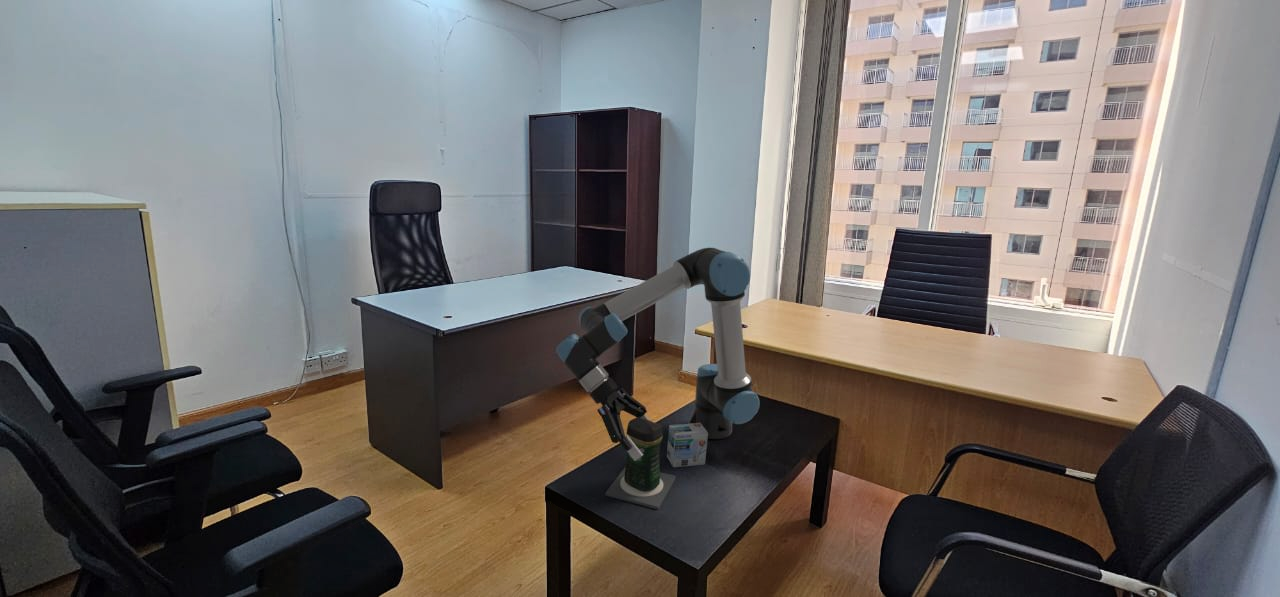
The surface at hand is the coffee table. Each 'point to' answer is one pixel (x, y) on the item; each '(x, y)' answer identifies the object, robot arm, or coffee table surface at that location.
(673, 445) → the light bulb box
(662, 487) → the marker mat
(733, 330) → the robot arm
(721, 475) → the coffee table surface
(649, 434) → the coffee jar
